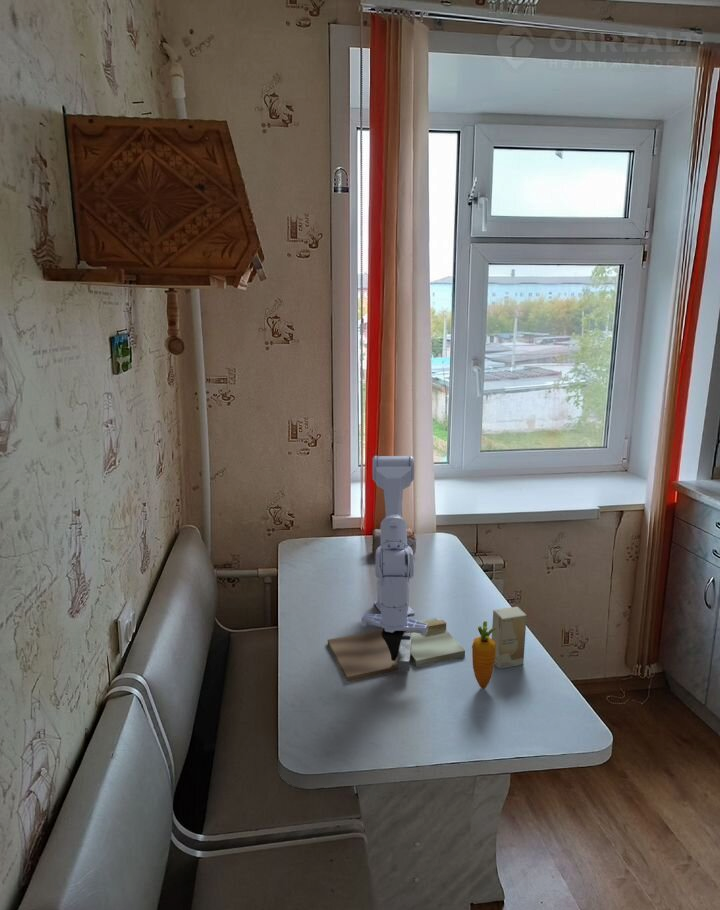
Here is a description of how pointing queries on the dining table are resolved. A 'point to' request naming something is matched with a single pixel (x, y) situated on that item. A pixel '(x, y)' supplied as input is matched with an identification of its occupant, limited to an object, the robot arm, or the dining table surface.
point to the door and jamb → (373, 656)
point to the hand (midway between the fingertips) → (394, 658)
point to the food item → (377, 540)
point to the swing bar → (405, 652)
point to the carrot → (483, 656)
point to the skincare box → (509, 636)
